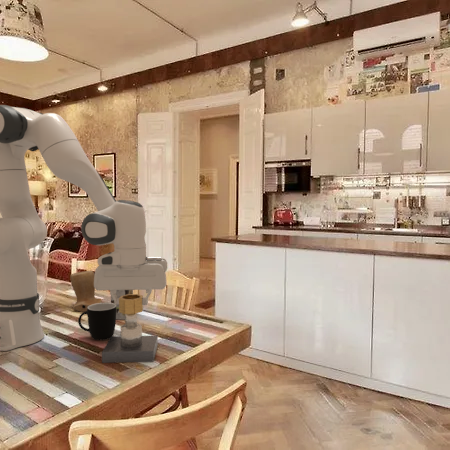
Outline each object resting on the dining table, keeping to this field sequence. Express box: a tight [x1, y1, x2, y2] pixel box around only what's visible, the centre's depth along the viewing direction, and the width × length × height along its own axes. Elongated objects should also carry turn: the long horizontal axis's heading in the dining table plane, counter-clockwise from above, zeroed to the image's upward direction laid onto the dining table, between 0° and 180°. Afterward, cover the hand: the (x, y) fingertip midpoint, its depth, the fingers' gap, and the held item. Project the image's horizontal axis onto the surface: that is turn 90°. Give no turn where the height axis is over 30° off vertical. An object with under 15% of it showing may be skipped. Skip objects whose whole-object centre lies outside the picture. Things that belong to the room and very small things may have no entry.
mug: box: [77, 302, 117, 341], centre depth 127 cm, size 12×9×10 cm
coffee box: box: [110, 290, 134, 321], centre depth 149 cm, size 9×6×16 cm
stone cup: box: [70, 270, 103, 313], centre depth 159 cm, size 15×12×15 cm
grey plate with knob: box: [101, 313, 159, 364], centre depth 114 cm, size 14×12×13 cm
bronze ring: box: [119, 293, 144, 314], centre depth 113 cm, size 6×6×4 cm
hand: (131, 304), depth 113 cm, fingers closed on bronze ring, 6 cm apart
